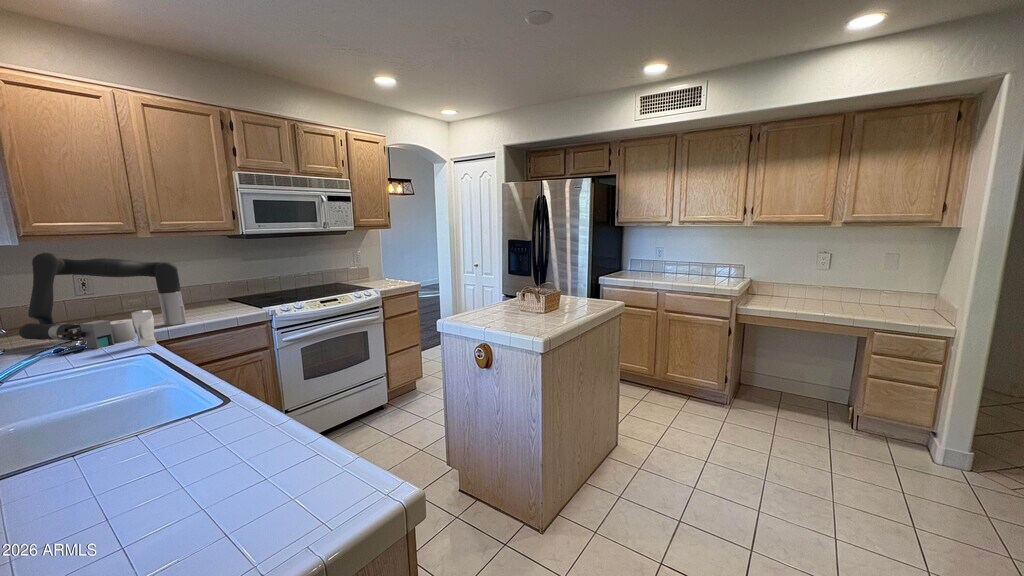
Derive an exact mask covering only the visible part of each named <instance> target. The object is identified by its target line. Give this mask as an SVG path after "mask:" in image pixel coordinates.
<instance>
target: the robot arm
mask: <svg viewBox="0 0 1024 576" xmlns="http://www.w3.org/2000/svg"><path fill="white" fill-rule="evenodd" d="M31 265H32V275H33V278H32V279H33V280H32V281H33V282H32V290H31V296H30V301H29V305H28V314H27V316H28V317H29V318H30V319H33V320H36V321H38V323H33V322H32V323H31V322H30V323H26V324H23V325H22V326H21V327H20V328H19V329H18V335H19V337H20V338H22V339H24V340H38V341H40V340H41V341H46V340H51V341H77V340H80V339H81V338H82V339H83V337H86V335H85V332H81V327H80V324H81V323H80V324H79V323H75V322H74V323H69V322H68V323H54V320H53V316H52V313H53V307H54V281H55V278H56V276H63V275H64V276H68V275H73V276H75V275H78V276H89V277H103V278H131V277H132V278H133V277H134V278H135V277H150V278H151V277H152V278H155V282H156V288H157V292H158V298H159V304H160V309H161V315H162V321H163V325H164V326H176V325H181V324H186V323H187V318H186V317H187V316H186V312H185V305H184V302H183V301H184V300H183V295H182V288H181V284H180V278H179V273H178V271H179V270H178V267H177V266H176V264H174V263H173V262H169V261H161V262H160V261H159V262H157V261H156V262H155V261H153V262H151V261H150V262H148V261H147V262H145V261H137V260H129V259H121V258H119V259H118V258H106V257H103V258H90V259H87V258H86V259H69V258H61V257H59V256H58V255H56V254H54V253H51V252H41V253H38V254H36V255H34V257H33V258H32V261H31Z"/></svg>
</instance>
